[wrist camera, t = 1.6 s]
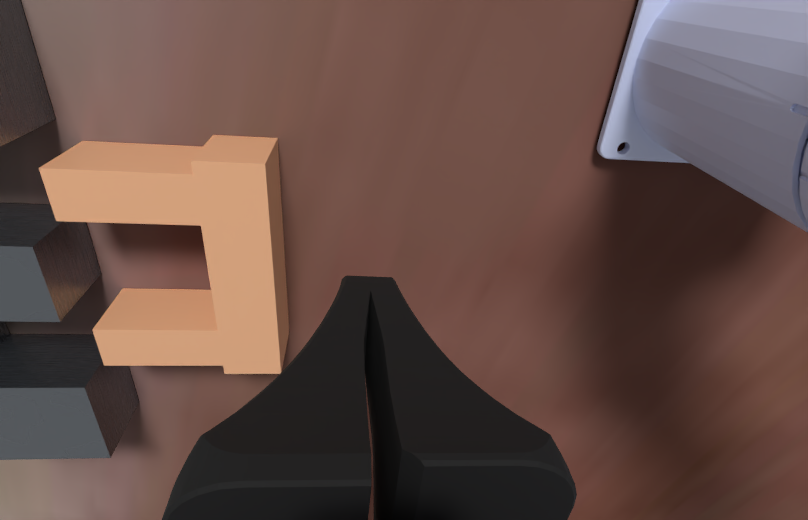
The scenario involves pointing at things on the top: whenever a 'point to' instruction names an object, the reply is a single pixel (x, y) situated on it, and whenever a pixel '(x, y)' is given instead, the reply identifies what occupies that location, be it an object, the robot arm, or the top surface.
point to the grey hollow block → (47, 298)
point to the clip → (223, 241)
